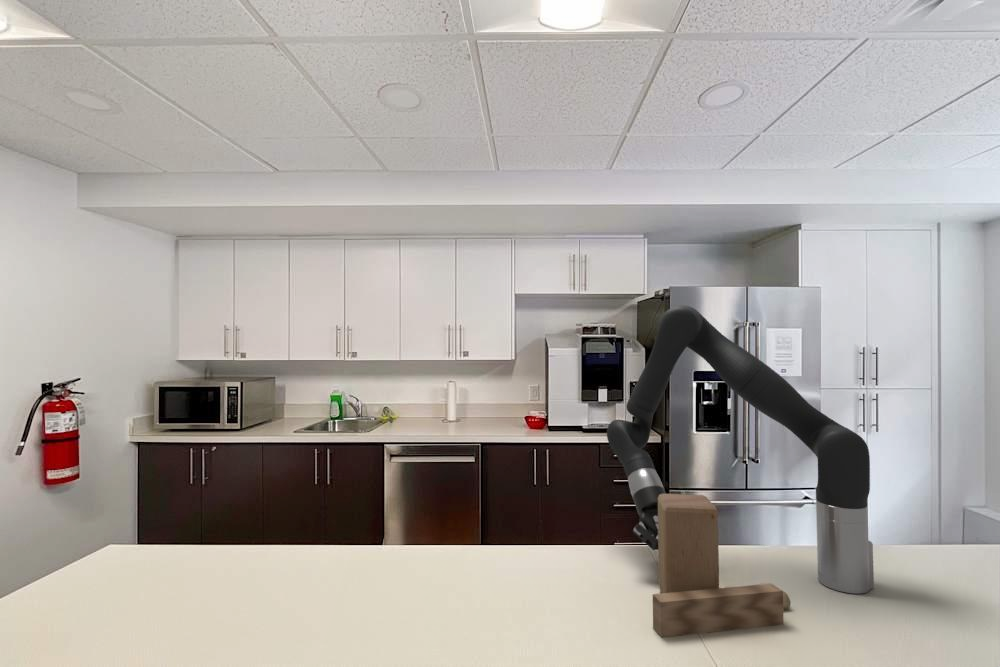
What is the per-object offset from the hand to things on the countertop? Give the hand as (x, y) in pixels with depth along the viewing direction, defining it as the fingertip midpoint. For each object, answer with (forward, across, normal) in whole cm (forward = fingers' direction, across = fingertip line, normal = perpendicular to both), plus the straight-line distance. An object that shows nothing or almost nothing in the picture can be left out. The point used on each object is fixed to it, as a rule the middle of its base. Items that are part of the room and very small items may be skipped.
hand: (674, 567), depth 109 cm
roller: (+11, +12, -6) cm, 18 cm away
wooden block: (+7, 0, -1) cm, 7 cm away
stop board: (+14, 0, -8) cm, 16 cm away
